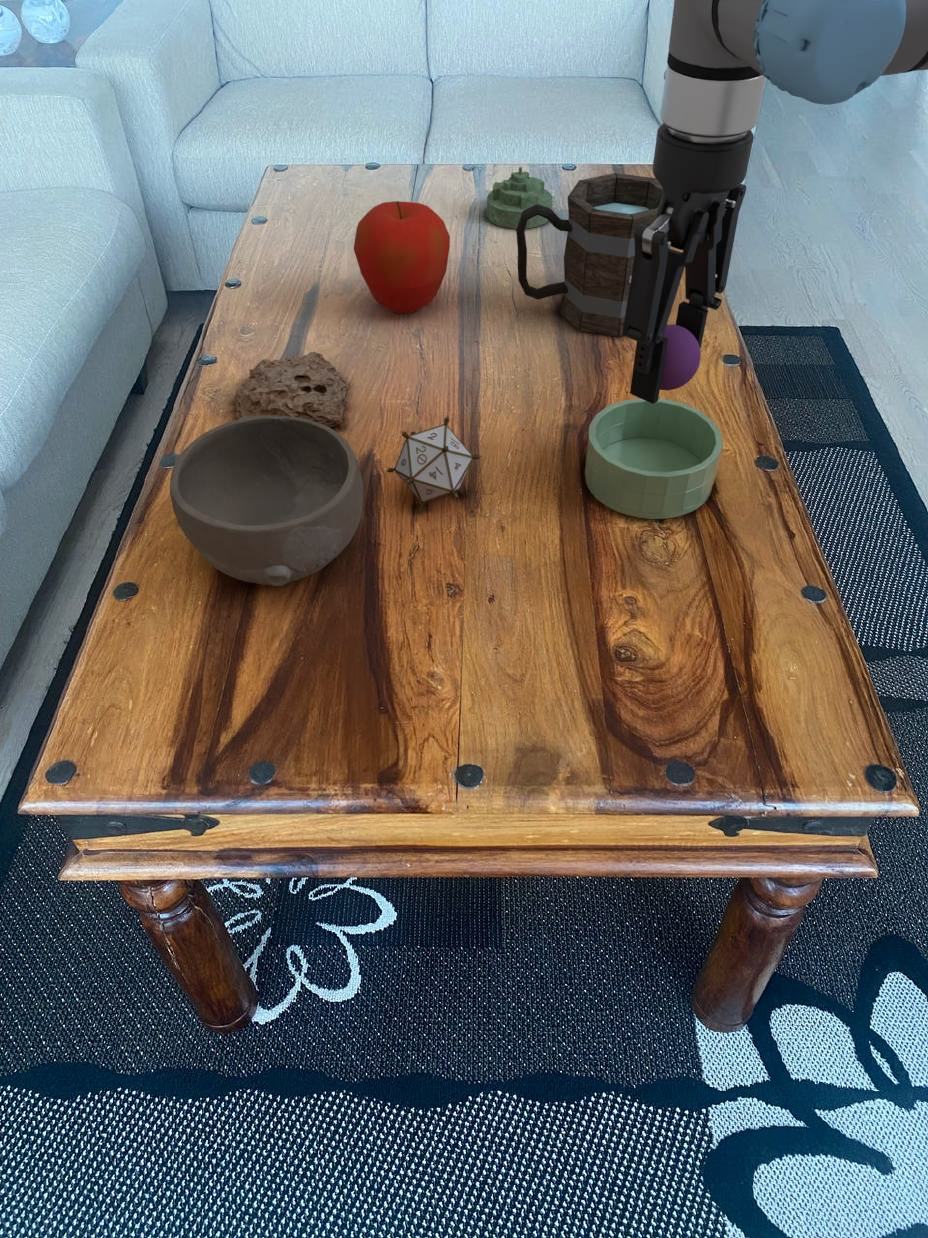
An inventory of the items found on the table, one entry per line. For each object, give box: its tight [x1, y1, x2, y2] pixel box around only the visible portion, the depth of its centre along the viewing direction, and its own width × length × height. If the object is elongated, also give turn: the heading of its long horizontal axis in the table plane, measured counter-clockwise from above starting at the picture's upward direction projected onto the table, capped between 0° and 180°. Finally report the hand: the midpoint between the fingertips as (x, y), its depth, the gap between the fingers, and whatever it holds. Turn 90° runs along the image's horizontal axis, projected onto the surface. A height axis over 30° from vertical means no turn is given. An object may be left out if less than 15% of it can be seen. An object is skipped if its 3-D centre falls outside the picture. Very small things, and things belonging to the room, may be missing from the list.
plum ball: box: [660, 323, 702, 391], centre depth 87 cm, size 6×6×6 cm
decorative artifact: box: [486, 166, 553, 230], centre depth 140 cm, size 10×7×10 cm
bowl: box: [169, 415, 365, 587], centre depth 87 cm, size 17×18×10 cm
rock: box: [234, 351, 349, 429], centre depth 108 cm, size 14×13×4 cm
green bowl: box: [584, 397, 724, 520], centre depth 95 cm, size 13×13×6 cm
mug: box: [515, 172, 663, 338], centre depth 116 cm, size 20×14×15 cm
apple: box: [353, 200, 451, 314], centre depth 118 cm, size 12×12×14 cm
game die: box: [386, 415, 483, 512], centre depth 93 cm, size 9×8×10 cm
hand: (663, 382), depth 89 cm, fingers closed on plum ball, 6 cm apart
